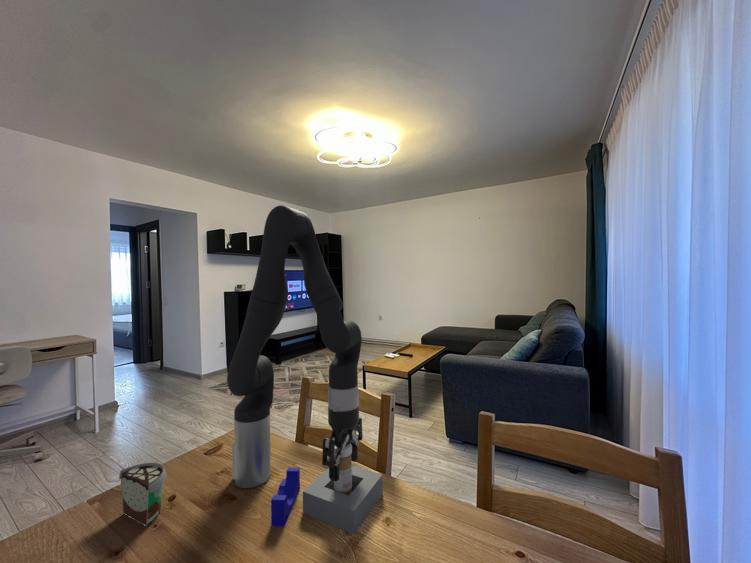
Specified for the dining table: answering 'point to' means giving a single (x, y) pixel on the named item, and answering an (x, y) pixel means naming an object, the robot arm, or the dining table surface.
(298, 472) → the cable clip
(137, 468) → the food container
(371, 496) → the well block
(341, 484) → the sprinkles bottle
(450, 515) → the dining table surface
